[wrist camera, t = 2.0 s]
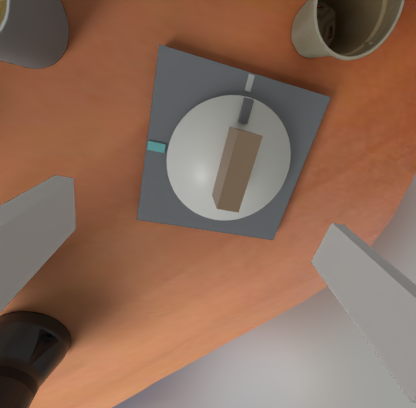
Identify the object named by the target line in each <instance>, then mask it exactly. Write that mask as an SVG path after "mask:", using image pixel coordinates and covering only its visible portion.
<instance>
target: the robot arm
mask: <svg viewBox="0 0 416 408" xmlns="http://www.w3.org/2000/svg"><path fill="white" fill-rule="evenodd" d="M75 229H76V219H75V198H74V178H69V177H64V176H58V175H55V176H53V177H51V178H49V179H48V180H46V181H44V182H42V183H40V184H38V185H37V186H35V187H33V188H31V189H29V190H28V191H26V192H24V193H22V194H20V195H19V196H17V197H15V198H13V199H11V200H9V201H8V202H6V203H4V204H2V205H0V312H1V311H2V310H3V309H4V308H5V307H6V306H7V304H8V303H9V302H10V301H11V300H12V299H13V298H14V297H15V296H16V295H17V293H18V292H19V291H20V290H21V289H22V288H23V287H24V286H25V285H26V283H27V282H28V281H29V280H30V279H31V278H32V277H33V276H34V275H35V274H36V272H37V271H38V270H39V269H40V268H41V267H42V266H43V265H44V264H45V263H46V261H47V260H48V259H49V258H50V257H51V256H52V255H53V254H54V253H55V252H56V250H57V249H58V248H59V247H60V246H61V245H62V244H63V243H64V242H65V240H66V239H67V238H68V237H69V236H70V235H71V234H72V233H73V232H74V231H75ZM311 263H312V264H313V266H314V267H315V269H316V270H317V271H318V273H319V274H320V276H321V277H322V278H323V280H324V281H325V283H326V284H327V285H328V287H329V288H330V289H331V291H332V292H333V294H334V295H335V297H336V298H337V299H338V301H339V302H340V304H341V305H342V306H343V308H344V309H345V311H346V312H347V313H348V315H349V316H350V318H351V319H352V320H353V322H354V323H355V325H356V326H357V327H358V329H359V330H360V332H361V333H362V334H363V336H364V337H365V339H366V340H367V341H368V343H369V344H370V346H371V347H372V348H373V350H374V351H375V353H376V354H377V355H378V357H379V358H380V359H381V361H382V362H383V364H384V365H385V367H386V368H387V369H388V371H389V372H390V374H391V375H392V376H393V378H394V379H395V381H396V382H397V383H398V385H399V386H400V388H401V389H402V390H403V392H404V393H405V395H406V396H407V397H408V399H409V400H410V402H416V285H415V284H414V283H413V282H412V281H410V280H409V279H408V278H407V277H406V276H404V275H403V274H402V273H401V272H400V271H399V270H397V269H396V268H395V267H394V266H392V265H391V264H390V263H389V262H388V261H387V260H385V259H384V258H383V257H382V256H381V255H380V254H378V253H377V252H376V251H375V250H373V249H372V248H371V247H370V246H369V245H368V244H366V243H365V242H364V241H363V240H362V239H360V238H359V237H358V236H357V235H356V234H355V233H353V232H352V231H351V230H350V229H349V228H347V227H346V226H345V225H342V224H336V223H331V225H330V227H329V229H328V231H327V233H326V235H325V237H324V238H323V240H322V242H321V244H320V246H319V248H318V250H317V252H316V254H315V256H314V257H313V259H312V261H311ZM70 343H71V337H70V334H69V332H68V330H67V329H66V328H65V327H64V326H63V325H62V324H61V323H60V322H58V321H57V320H55V319H53V318H51V317H49V316H46V315H43V314H39V313H33V312H15V313H9V314H6V315H3V316H1V317H0V408H29V406H30V404H31V402H32V400H33V398H34V396H35V394H36V392H37V390H38V389H39V387H40V386H41V385H42V383H43V382H44V381H45V380H46V379H47V378H48V376H49V375H50V374H51V373H52V372H53V370H54V369H55V368H56V367H57V366H58V365H59V363H60V362H61V361H62V360H63V358H64V357H65V355H66V353H67V350H68V348H69V346H70Z"/></svg>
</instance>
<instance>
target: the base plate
mask: <svg viewBox="0 0 416 408" xmlns="http://www.w3.org/2000/svg"><path fill="white" fill-rule="evenodd" d="M225 95H241V96H246V97H250V98H253V99H255V100H258V101H260V102H261V103H263V104H265V105H266V106H268V107H269V108H270V109H271V110H272V111H273V112H274V113H275V114H276V115H277V116H278V117H279V119H280V120H281V121H282V123H283V125H284V127H285V129H286V131H287V134H288V137H289V142H290V150H291V158H290V166H289V170H288V173H287V177H286V179H285V181H284V183H283V185H282V187H281V189H280V190H279V192H278V193H277V194H276V196H275V197H274V198H273V199H272V200H271V201H270V202H269V203H268V204H267V205H266V206H264V207H263V208H262V209H260V210H259V211H257V212H255V213H253V214H251V215H249V216H246V217H244V218H240V219H236V220H214V219H209V218H206V217H203V216H201V215H199V214H197V213H195V212H193V211H192V210H190V209H189V208H188V207H187V206H185V205H184V204H183V203H182V202H181V200H180V199H179V198H178V197H177V195H176V194H175V192H174V190H173V188H172V186H171V184H170V181H169V177H168V172H167V161H166V160H167V151H168V146H169V142H170V140H171V137H172V134H173V132H174V130H175V128H176V127H177V125H178V124H179V122H180V121H181V119H182V118H183V117H184V116H185V115H186V114H187V113H188V112H189V111H190V110H192V109H193V108H194V107H195V106H197V105H199V104H201V103H202V102H204V101H207V100H209V99H212V98H215V97H219V96H225ZM330 98H331V97H329V96H325V95H322V94H319V93H316V92H313V91H309V90H306V89H303V88H300V87H296V86H293V85H290V84H287V83H283V82H280V81H277V80H274V79H270V78H267V77H264V76H261V75H257V74H254V73H251V72H248V71H244V70H241V69H238V68H235V67H231V66H228V65H225V64H222V63H218V62H215V61H212V60H209V59H205V58H202V57H199V56H196V55H192V54H189V53H186V52H183V51H179V50H176V49H173V48H170V47H166V46H163V45H160V44H159V51H158V59H157V66H156V74H155V82H154V90H153V98H152V105H151V113H150V121H149V129H148V137H147V145H146V152H145V160H144V168H143V176H142V184H141V192H140V199H139V207H138V215H137V220H143V221H149V222H156V223H163V224H169V225H176V226H183V227H189V228H196V229H202V230H209V231H216V232H222V233H229V234H236V235H242V236H249V237H256V238H262V239H269V240H273V239H274V237H275V234H276V232H277V229H278V227H279V224H280V222H281V219H282V217H283V214H284V212H285V210H286V207H287V205H288V202H289V200H290V197H291V195H292V192H293V190H294V187H295V185H296V182H297V180H298V177H299V175H300V172H301V170H302V167H303V165H304V163H305V160H306V158H307V155H308V153H309V150H310V148H311V145H312V143H313V140H314V138H315V135H316V133H317V130H318V128H319V125H320V123H321V121H322V118H323V116H324V113H325V111H326V108H327V106H328V103H329V101H330Z"/></svg>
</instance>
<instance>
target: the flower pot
mask: <svg viewBox="0 0 416 408" xmlns="http://www.w3.org/2000/svg"><path fill="white" fill-rule="evenodd" d="M404 2H405V0H307V2H306V3H305V4H304V5H303V6H302V7H301V9H300V10H299V11H298V13H297V15H296V16H295V19H294V22H293V25H292V31H291V38H292V43H293V45H294V47H295V48H296V50H297V52H298V53H299V54H300V55H301V56H303V57H306V58H315V57H324V56H333V57H335V58H337V59H340V60H354V59H359V58H361V57H364V56H366V55H368V54H370V53H371V52H373V51H374V50H376V49H377V48H378V47H379V46H380V45H381V44H382V43H383V42H384V41H385V40H386V39H387V37H388V36H389V35H390V34H391V32H392V31H393V29H394V27H395V25H396V23H397V21H398V20H399V17H400V15H401V12H402V9H403V5H404ZM317 4H318V5H322V7H323V9H320V8H317ZM330 27H332V32H331V37H330V38H328V34H329V31H330Z"/></svg>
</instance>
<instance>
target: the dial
mask: <svg viewBox="0 0 416 408" xmlns="http://www.w3.org/2000/svg"><path fill="white" fill-rule="evenodd" d="M290 158H291V150H290V142H289V137H288V134H287V131H286V129H285V127H284V125H283V123H282V121H281V120H280V119H279V117H278V116H277V115H276V114H275V113H274V112H273V111H272V110H271V109H270V108H269V107H268V106H266V105H265V104H263V103H261V102H260V101H258V100H255V99H253V98H250V97H246V96H241V95H225V96H219V97H215V98H212V99H209V100H207V101H204V102H202V103H201V104H199V105H197V106H195V107H194V108H193V109H192V110H190V111H189V112H188V113H187V114H186V115H185V116H184V117H183V118H182V119H181V121H180V122H179V124H178V125H177V127H176V128H175V130H174V132H173V134H172V137H171V140H170V142H169V146H168V151H167V160H166V161H167V172H168V177H169V181H170V184H171V186H172V188H173V190H174V192H175V194H176V195H177V197H178V198H179V199H180V200H181V202H182V203H183V204H184V205H185V206H187V207H188V208H189V209H190V210H192V211H193V212H195V213H197V214H199V215H201V216H203V217H206V218H209V219H214V220H236V219H240V218H244V217H246V216H249V215H251V214H253V213H255V212H257V211H259V210H260V209H262V208H263V207H264V206H266V205H267V204H268V203H269V202H270V201H271V200H272V199H273V198H274V197H275V196H276V194H277V193H278V192H279V190H280V189H281V187H282V185H283V183H284V181H285V179H286V177H287V173H288V170H289V166H290Z"/></svg>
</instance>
